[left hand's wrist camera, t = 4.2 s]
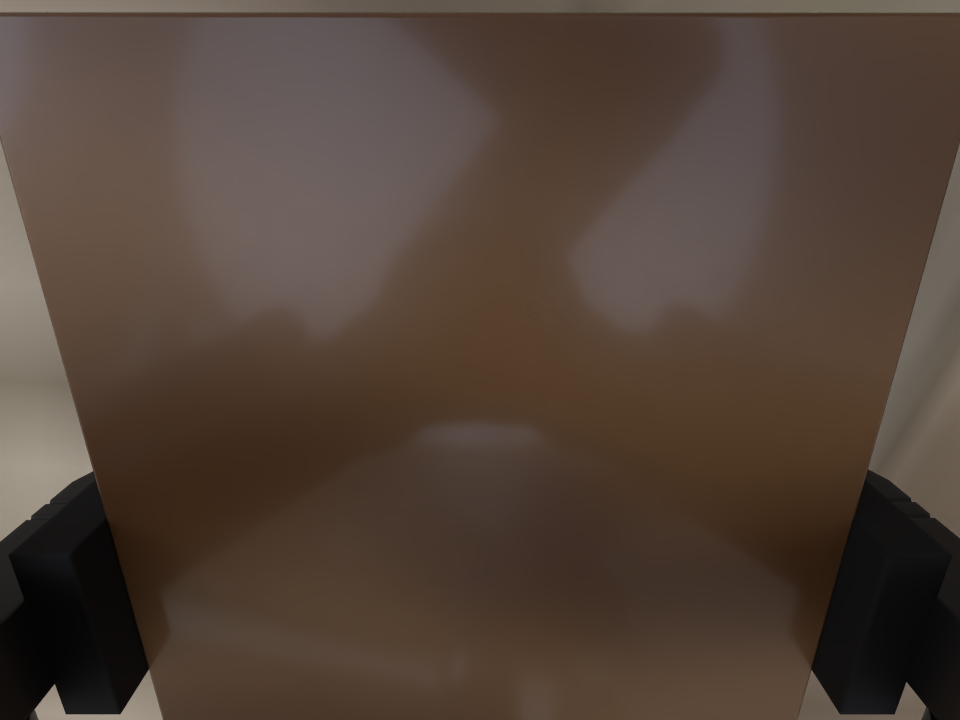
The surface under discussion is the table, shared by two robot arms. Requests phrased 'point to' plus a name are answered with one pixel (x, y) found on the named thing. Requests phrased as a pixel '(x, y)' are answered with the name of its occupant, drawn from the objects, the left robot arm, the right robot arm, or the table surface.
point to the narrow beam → (480, 340)
